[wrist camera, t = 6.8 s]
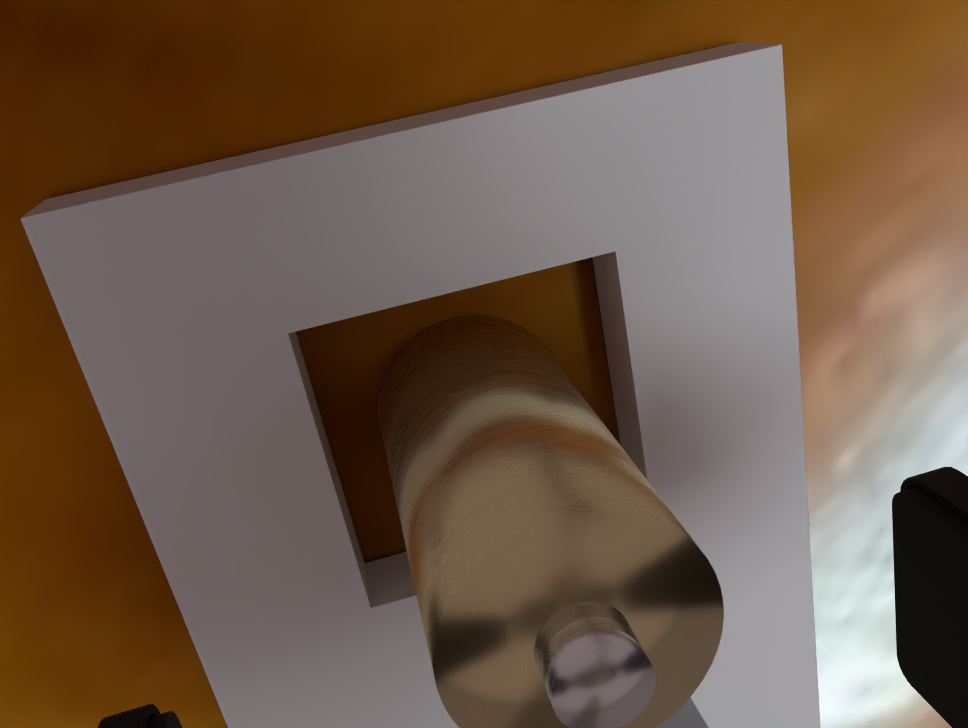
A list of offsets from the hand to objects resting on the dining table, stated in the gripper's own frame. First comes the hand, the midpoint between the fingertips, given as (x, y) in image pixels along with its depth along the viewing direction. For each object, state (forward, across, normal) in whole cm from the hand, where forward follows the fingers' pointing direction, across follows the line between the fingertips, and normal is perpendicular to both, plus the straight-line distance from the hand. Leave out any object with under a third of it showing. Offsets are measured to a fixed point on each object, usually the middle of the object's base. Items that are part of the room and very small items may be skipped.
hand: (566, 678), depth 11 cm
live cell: (+7, 0, -1) cm, 7 cm away
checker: (+7, 0, +4) cm, 8 cm away
